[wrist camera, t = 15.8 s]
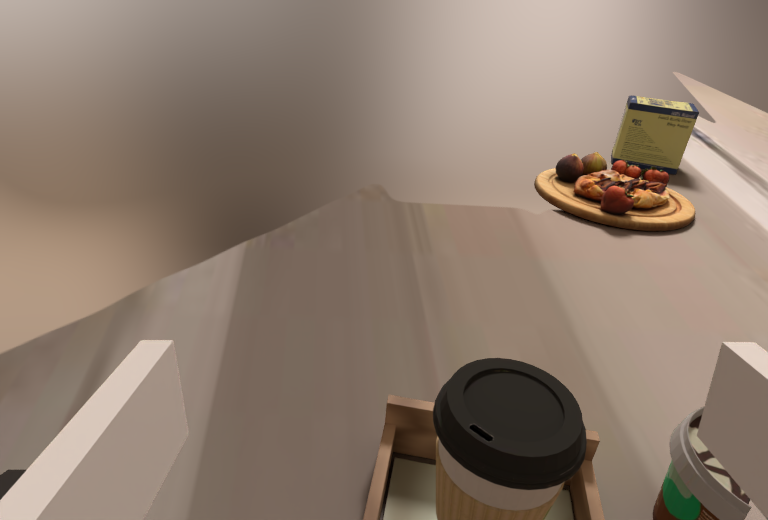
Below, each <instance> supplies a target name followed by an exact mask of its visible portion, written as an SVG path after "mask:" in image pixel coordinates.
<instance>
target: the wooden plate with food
mask: <svg viewBox="0 0 768 520" xmlns="http://www.w3.org/2000/svg"><path fill="white" fill-rule="evenodd" d="M625 161H626V160H620V161H616V162H615V163H614V164H613V166H612V168H611V170H607V164H606V161H605V160H604V158H603V157H602V156H600V155H599V154H598V152H595V153H593V154H590V155H587V156H585V157H584V158H582V159H581V160H580V159H579V158H578V156H577V155H576V154H571V155H568V156H566V157H564V158H562V159H561V160H560V161H559V162H558V163H557V166H556V168H553V169H550V170H546V171H544V172H542V173H541V174H539V175H538V176H537V178H536V180H535V184H534V185H535V188H536V190H537V192H538V193H539V195H540V196H541V197H542V198H544V199H545V200H546V201H548V202H549V203H551V204H552V205H554V206H556V207H557V208H559V209H561V210H564V211H566V212H568V213H571V214H573V215H576V216H578V217H581V218H584V219H587V220H590V221H594V222H598V223H601V224H606V225H610V226H615V227H620V228H626V229H633V230H643V231H668V230H675V229H679V228H683V227H685V226H687V225H689V224H690V223H691V222H692V221H693V220H694V218H695V208H694V206H693V205H692V203H691V202H690V201H688V200H687V199H686V198H685V197H683V196H682V195H680V194H679V193H677V192H675V191H673V190H671V189H669V188H667V183H668V181H669V175H668V173H666V172H664V170H660V171H657V168H656V167H654V166H652V168H650V169H649V170H648V169H645V170H643V171H641V169H640V168H638V166H639V165H636V166H635V165H631V166H630V165H628V162H627V161H626V162H625ZM641 175H642V176H643V177H642V178H639V177H640V176H641Z"/></svg>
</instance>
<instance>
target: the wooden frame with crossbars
mask: <svg viewBox="0 0 768 520" xmlns="http://www.w3.org/2000/svg"><path fill="white" fill-rule="evenodd" d="M434 404H435V403H433V402H427V401H421V400H416V399H410V398H404V397H399V396H393V395H389V396H388V401H387V408H386V418H385V425H384V430H383V434H382V439H381V443H380V447H379V452H378V456H377V461H376V465H375V469H374V474H373V478H372V483H371V487H370V491H369V496H368V500H367V505H366V509H365V514H364V518H363V520H380V515H381V510H382V505H383V500H384V495H385V490H386V485H387V480H388V475H389V469H390V464H391V459H392V454H393V452H397V453H402V454H407V455H412V456H418V457H423V458H428V459H433V460H436V440H437V434H436V431H435V427H434V423H433V408H434ZM586 439H587V445H586V446H587V447H586V453H585V459H584V461H583V463H582V465H581V467H580V469H579V470H578V471H577V472H576V473H575V474H574V475H573V476H572V477H571V478H570V479H569V480H567V481H565V482H564V485H569V486H570V491H571V497H572V503H573V509H574V515H575V520H604V515H603V510H602V506H601V501H600V497H599V492H598V488H597V483H596V479H595V474H594V470H593V465H592V459H593V457H594V454H595V452H596V449H597V447H598V444H599V442H600V440H599V436H598V432H596V431H590V430H586ZM383 520H437V515H436V465H431V464H426V463H421V462H416V461H410V460H405V459H400V458H395V460H394V465H393V470H392V476H391V481H390V486H389V491H388V497H387V502H386V507H385V512H384V518H383ZM544 520H574V518H573V512H572V506H571V500H570V494H569V491H567V490H561V492H560V494H559V496H558V497H557V499H556V501H555V502H554V504H553V506H552V507H551V509H550V511H549V513H548V514H547V516H546V518H545V519H544Z"/></svg>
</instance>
